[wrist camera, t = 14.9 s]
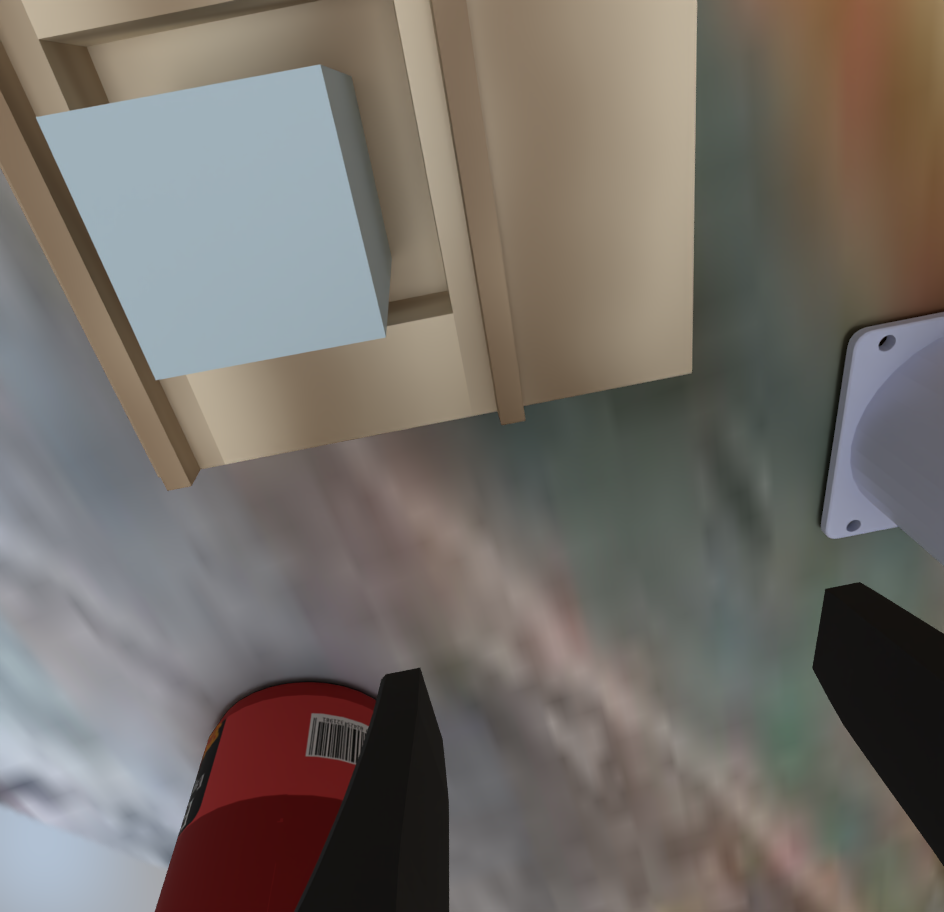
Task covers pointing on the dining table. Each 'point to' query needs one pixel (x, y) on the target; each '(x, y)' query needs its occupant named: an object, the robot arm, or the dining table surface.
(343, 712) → the canned food
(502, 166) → the pedestal
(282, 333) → the block
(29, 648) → the dining table surface
